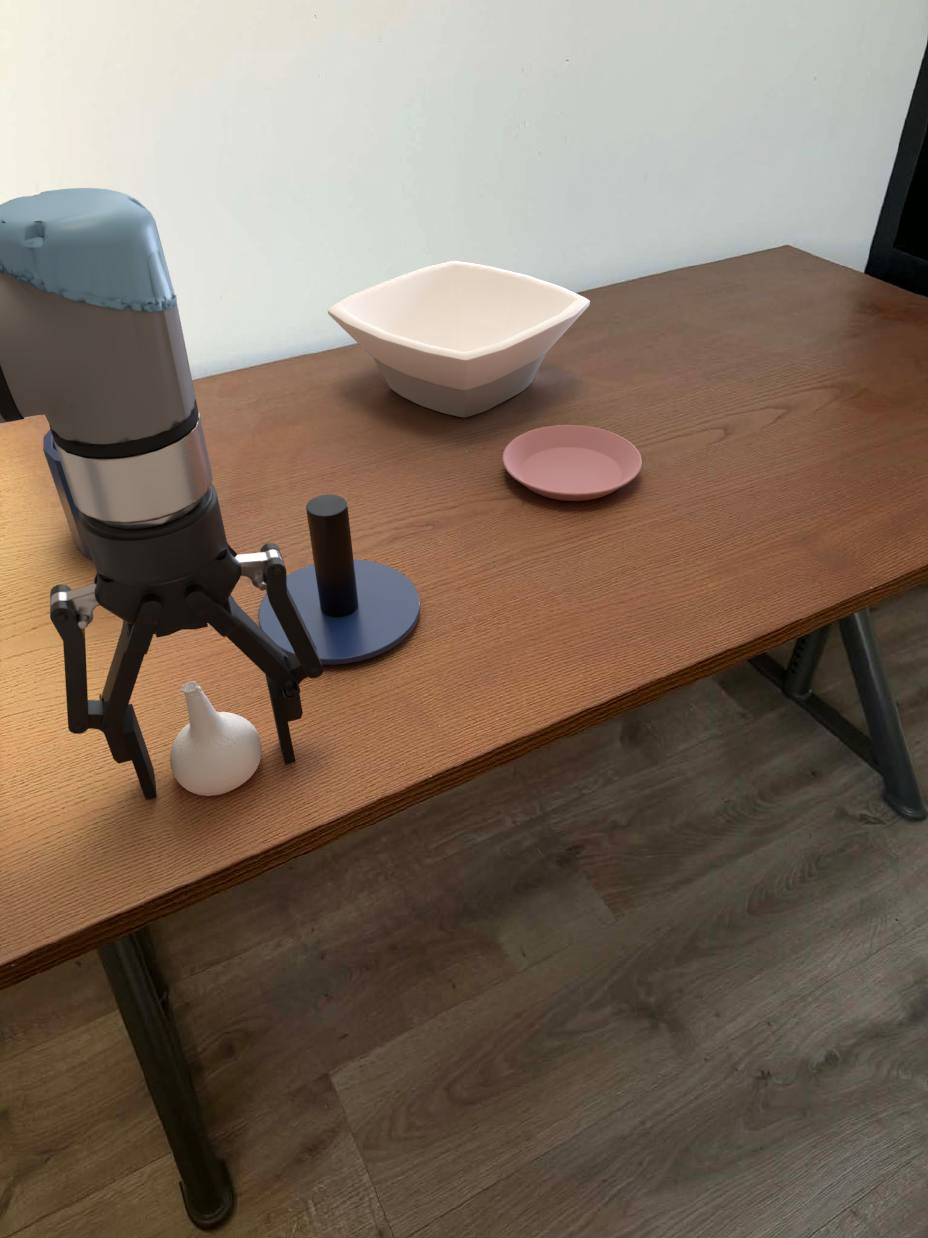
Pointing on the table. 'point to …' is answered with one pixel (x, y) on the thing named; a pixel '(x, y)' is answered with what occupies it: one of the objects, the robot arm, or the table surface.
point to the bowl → (459, 332)
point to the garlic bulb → (213, 747)
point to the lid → (344, 594)
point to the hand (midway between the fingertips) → (219, 766)
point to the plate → (572, 462)
